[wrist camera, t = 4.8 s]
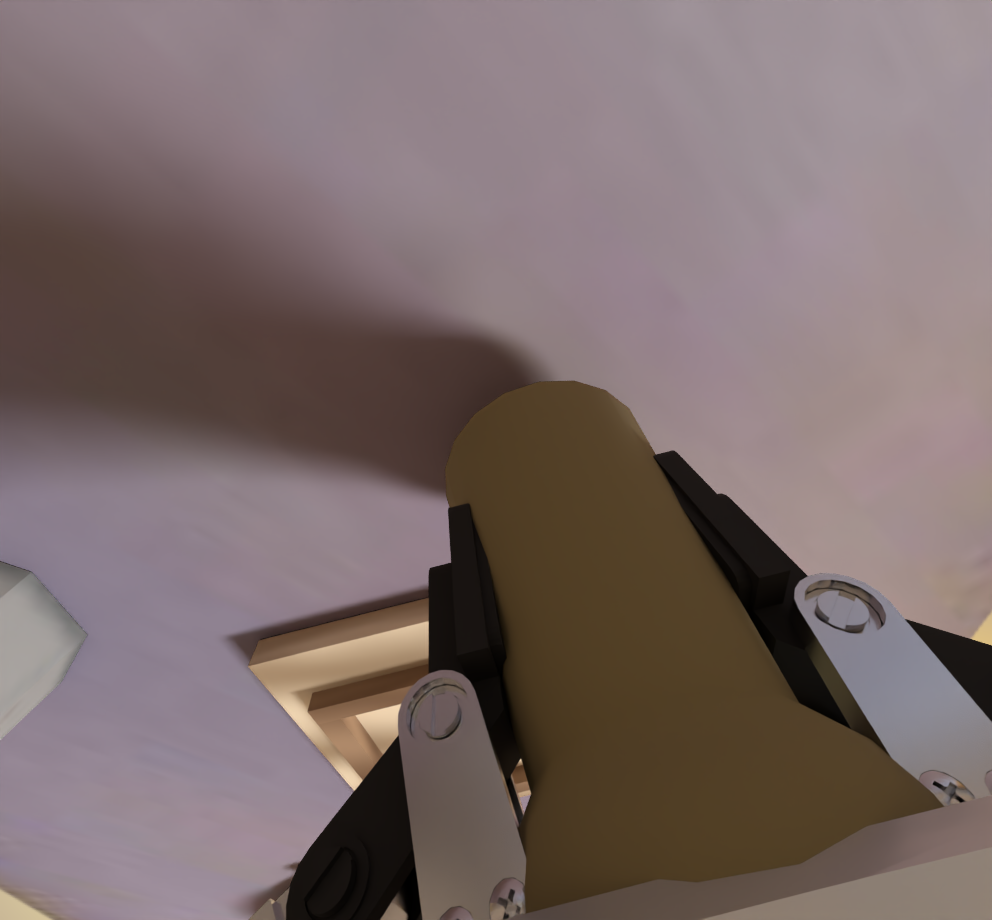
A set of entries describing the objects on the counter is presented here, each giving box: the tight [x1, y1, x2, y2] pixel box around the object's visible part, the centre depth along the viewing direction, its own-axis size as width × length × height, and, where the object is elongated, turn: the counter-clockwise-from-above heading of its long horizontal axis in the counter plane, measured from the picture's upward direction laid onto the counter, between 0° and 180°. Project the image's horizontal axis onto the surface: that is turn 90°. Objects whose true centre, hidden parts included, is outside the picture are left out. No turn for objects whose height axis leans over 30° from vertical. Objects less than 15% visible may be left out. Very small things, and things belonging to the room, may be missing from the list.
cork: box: [445, 381, 945, 914], centre depth 8 cm, size 6×6×11 cm
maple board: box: [248, 598, 531, 797], centre depth 21 cm, size 16×14×2 cm
